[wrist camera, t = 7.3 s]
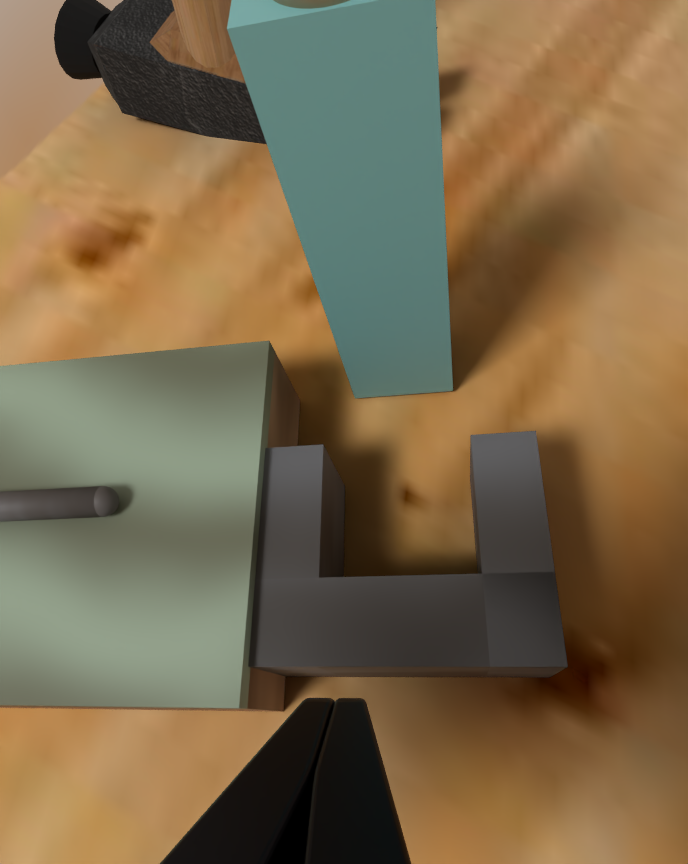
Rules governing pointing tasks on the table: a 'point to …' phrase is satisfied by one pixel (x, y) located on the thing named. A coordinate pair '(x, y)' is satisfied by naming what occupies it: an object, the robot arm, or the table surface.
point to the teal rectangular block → (360, 173)
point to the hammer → (162, 62)
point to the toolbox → (231, 546)
